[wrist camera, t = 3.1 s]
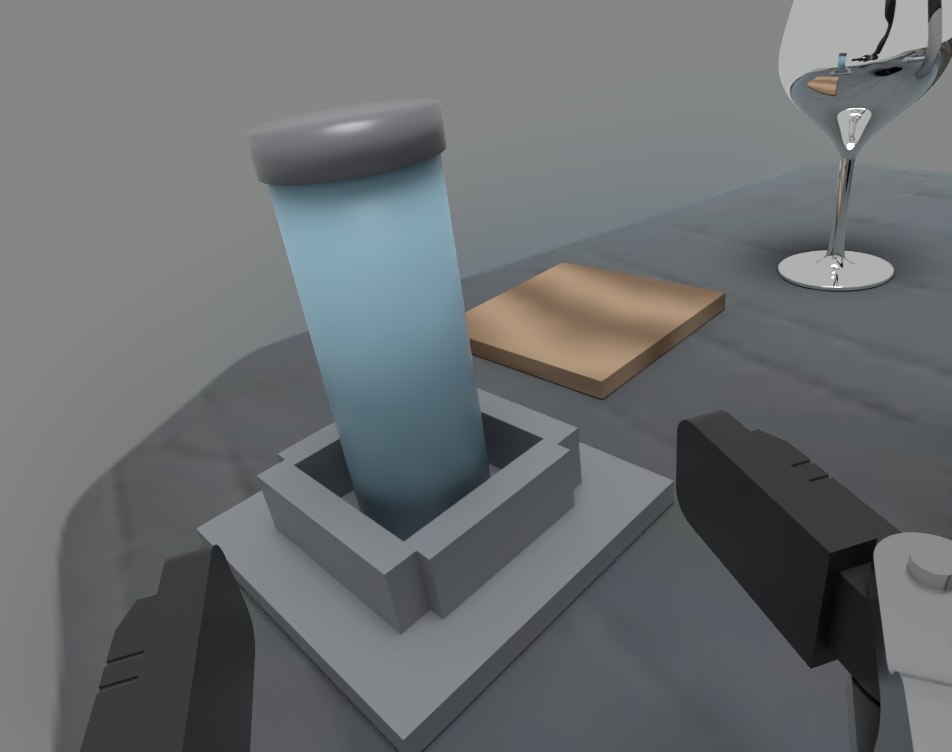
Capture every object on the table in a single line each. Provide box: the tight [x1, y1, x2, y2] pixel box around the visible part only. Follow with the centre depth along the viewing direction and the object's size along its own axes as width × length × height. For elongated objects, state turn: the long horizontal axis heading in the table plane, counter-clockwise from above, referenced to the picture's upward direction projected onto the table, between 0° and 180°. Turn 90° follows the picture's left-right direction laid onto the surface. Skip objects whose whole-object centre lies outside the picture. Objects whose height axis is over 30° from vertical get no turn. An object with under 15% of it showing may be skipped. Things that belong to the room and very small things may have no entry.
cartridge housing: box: [197, 388, 674, 752], centre depth 25 cm, size 13×13×4 cm
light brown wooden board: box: [465, 262, 725, 399], centre depth 39 cm, size 12×12×1 cm
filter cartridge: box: [245, 98, 491, 542], centre depth 22 cm, size 5×5×14 cm
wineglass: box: [778, 0, 952, 291], centre depth 37 cm, size 8×8×18 cm
